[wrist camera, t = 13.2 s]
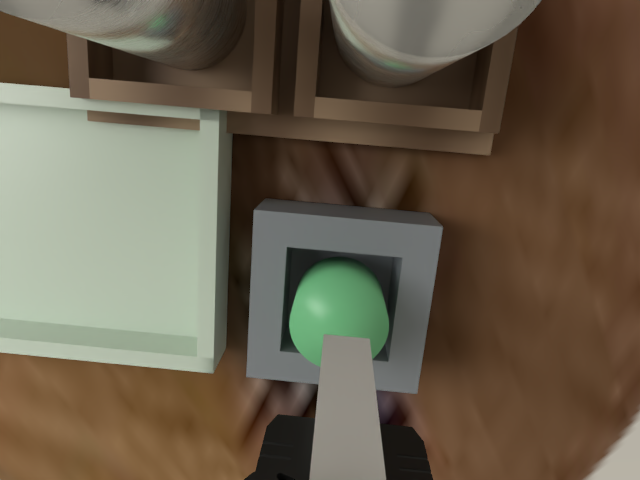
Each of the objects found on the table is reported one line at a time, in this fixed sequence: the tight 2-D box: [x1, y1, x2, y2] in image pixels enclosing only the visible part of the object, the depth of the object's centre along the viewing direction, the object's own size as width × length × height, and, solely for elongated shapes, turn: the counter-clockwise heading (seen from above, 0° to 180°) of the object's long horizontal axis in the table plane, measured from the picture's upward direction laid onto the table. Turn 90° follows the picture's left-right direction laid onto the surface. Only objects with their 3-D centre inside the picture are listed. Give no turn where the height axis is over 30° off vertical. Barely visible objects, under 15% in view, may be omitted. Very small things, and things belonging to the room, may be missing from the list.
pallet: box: [66, 0, 519, 155], centre depth 18 cm, size 18×10×3 cm, turn 85°
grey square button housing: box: [246, 198, 443, 394], centre depth 21 cm, size 8×8×3 cm
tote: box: [0, 83, 233, 373], centre depth 22 cm, size 21×13×2 cm, turn 85°
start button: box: [289, 257, 389, 366], centre depth 19 cm, size 4×4×3 cm
